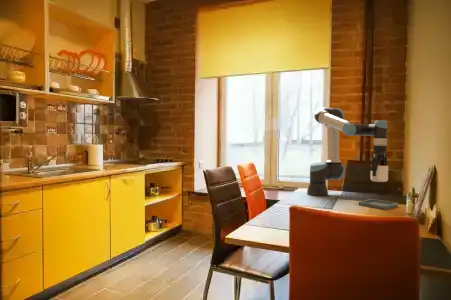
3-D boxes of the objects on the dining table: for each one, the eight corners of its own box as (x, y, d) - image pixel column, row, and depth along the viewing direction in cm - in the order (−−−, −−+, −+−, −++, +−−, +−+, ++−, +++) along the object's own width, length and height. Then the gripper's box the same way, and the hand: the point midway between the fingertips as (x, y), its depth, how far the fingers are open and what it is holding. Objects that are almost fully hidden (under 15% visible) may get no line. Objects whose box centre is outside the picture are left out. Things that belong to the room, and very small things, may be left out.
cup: (389, 182, 200) (390, 166, 199) (372, 181, 202) (372, 165, 201) (385, 180, 210) (385, 164, 209) (368, 179, 212) (369, 164, 211)
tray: (358, 205, 208) (358, 201, 208) (372, 202, 218) (372, 198, 218) (384, 210, 195) (385, 206, 195) (397, 206, 205) (398, 203, 205)
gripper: (376, 145, 195) (375, 182, 196) (394, 145, 209) (393, 180, 210) (364, 145, 201) (363, 181, 202) (383, 145, 215) (381, 178, 216)
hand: (378, 180), depth 206 cm, fingers closed on cup, 10 cm apart
